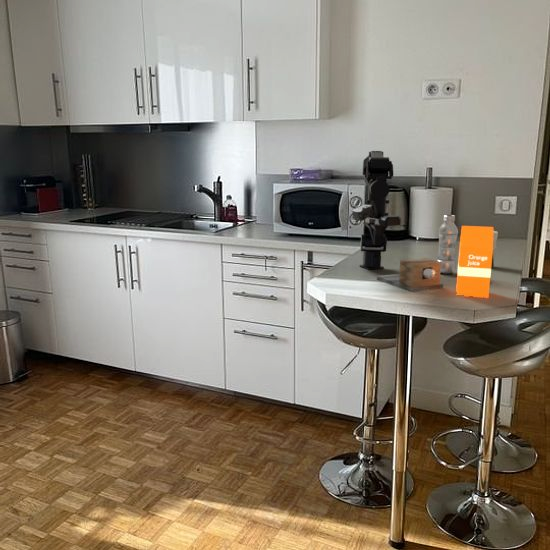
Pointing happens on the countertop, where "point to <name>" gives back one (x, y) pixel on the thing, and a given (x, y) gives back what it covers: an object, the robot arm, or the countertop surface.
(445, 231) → the plastic bottle
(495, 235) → the character mug
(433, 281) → the bearing block
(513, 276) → the countertop surface
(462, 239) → the orange juice
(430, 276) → the shaft
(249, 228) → the countertop surface
